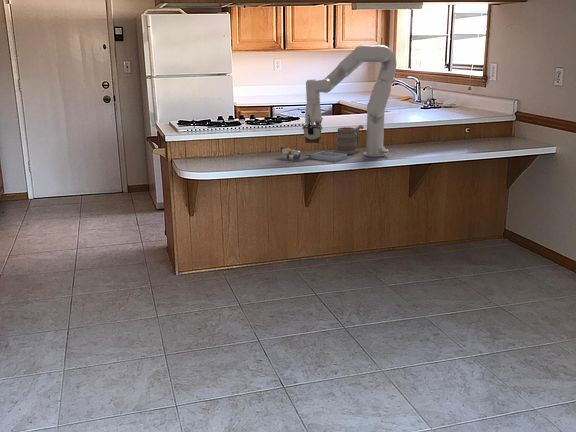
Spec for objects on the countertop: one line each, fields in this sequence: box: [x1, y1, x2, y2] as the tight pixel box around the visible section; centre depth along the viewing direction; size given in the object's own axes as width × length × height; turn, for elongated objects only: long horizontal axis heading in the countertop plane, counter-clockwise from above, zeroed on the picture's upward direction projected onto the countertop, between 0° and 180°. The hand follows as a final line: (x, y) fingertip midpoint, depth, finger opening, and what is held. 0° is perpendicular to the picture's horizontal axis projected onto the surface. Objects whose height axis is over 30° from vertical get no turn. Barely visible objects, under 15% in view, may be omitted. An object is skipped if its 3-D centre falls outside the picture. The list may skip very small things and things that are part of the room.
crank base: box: [281, 147, 312, 163], centre depth 334 cm, size 13×12×6 cm
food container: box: [301, 124, 323, 144], centre depth 346 cm, size 12×6×10 cm, turn 59°
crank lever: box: [279, 146, 301, 157], centre depth 336 cm, size 13×4×5 cm, turn 58°
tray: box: [310, 150, 348, 163], centre depth 334 cm, size 16×12×2 cm
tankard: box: [334, 124, 364, 155], centre depth 353 cm, size 20×13×15 cm, turn 126°
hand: (314, 133), depth 346 cm, fingers closed on food container, 6 cm apart
